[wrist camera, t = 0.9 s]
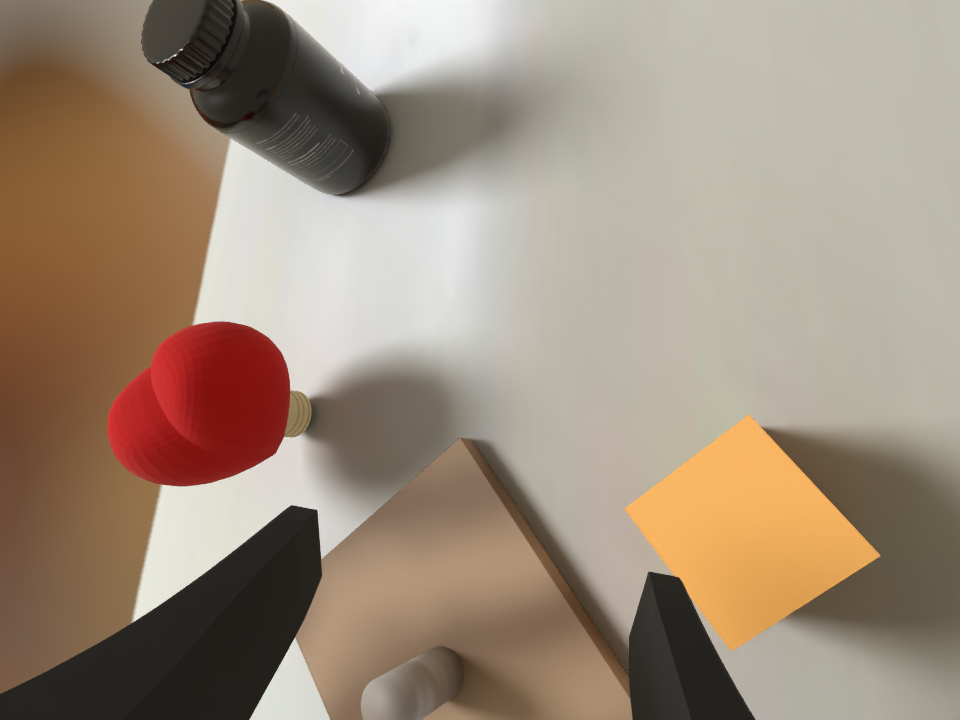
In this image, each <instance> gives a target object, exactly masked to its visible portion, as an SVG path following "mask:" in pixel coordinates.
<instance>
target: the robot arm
mask: <svg viewBox="0 0 960 720" xmlns="http://www.w3.org/2000/svg"><path fill="white" fill-rule="evenodd" d="M321 578H322V565H321V552H320V539H319V526H318V513H317V510H314V509H309V508H303V507H298V506H292V505H291V506H290V507H288V508H287V509H286V510H284V511H283V512H282V513H281V514H279V515H278V516H277V517H276V518H274V519H273V520H272V521H271V522H269V523H268V524H267V525H266V526H264V527H263V528H262V529H261V530H260V531H258V532H257V533H256V534H255V535H253V536H252V537H251V538H250V539H248V540H247V541H246V542H245V543H243V544H242V545H241V546H240V547H238V548H237V549H236V550H235V551H233V552H232V553H231V554H229V555H228V556H227V557H225V558H224V559H223V560H221V561H220V562H219V563H218V564H216V565H215V566H214V567H212V568H211V569H210V570H208V571H207V572H206V573H204V574H203V575H202V576H200V577H199V578H198V579H196V580H195V581H193V582H192V583H191V584H189V585H188V586H186V587H185V588H184V589H182V590H181V591H179V592H178V593H176V594H175V595H174V596H172V597H171V598H169V599H168V600H167V601H165V602H164V603H162V604H161V605H159V606H158V607H156V608H155V609H153V610H152V611H150V612H149V613H147V614H146V615H144V616H142V617H141V618H139V619H138V620H136V621H135V622H133V623H131V624H130V625H128V626H127V627H125V628H123V629H122V630H120V631H119V632H117V633H115V634H114V635H112V636H110V637H108V638H107V639H105V640H103V641H102V642H100V643H98V644H97V645H95V646H93V647H91V648H89V649H87V650H85V651H83V652H82V653H80V654H78V655H76V656H74V657H73V658H71V659H69V660H67V661H65V662H63V663H61V664H60V665H58V666H56V667H54V668H52V669H50V670H48V671H47V672H45V673H43V674H41V675H39V676H37V677H35V678H33V679H31V680H29V681H26V682H25V683H22V684H20V685H18V686H16V687H14V688H12V689H10V690H8V691H6V692H4V693H2V694H0V720H249V719H250V717H251V716H252V714H253V712H254V710H255V708H256V707H257V705H258V703H259V701H260V699H261V698H262V696H263V694H264V692H265V690H266V689H267V687H268V685H269V683H270V681H271V680H272V678H273V676H274V674H275V672H276V671H277V669H278V667H279V665H280V663H281V662H282V660H283V658H284V656H285V654H286V653H287V651H288V649H289V647H290V645H291V644H292V642H293V640H294V638H295V636H296V634H297V633H298V631H299V629H300V627H301V625H302V623H303V621H304V619H305V617H306V615H307V612H308V610H309V608H310V605H311V603H312V601H313V598H314V596H315V593H316V591H317V588H318V586H319V583H320V580H321ZM629 690H630V700H631V710H632V719H633V720H755V718H754V716H753V715H752V713H751V712H750V710H749V708H748V707H747V705H746V703H745V702H744V700H743V698H742V696H741V695H740V693H739V691H738V690H737V688H736V686H735V684H734V682H733V681H732V679H731V677H730V675H729V673H728V672H727V670H726V668H725V666H724V664H723V663H722V661H721V659H720V657H719V655H718V653H717V651H716V650H715V648H714V646H713V644H712V642H711V640H710V638H709V636H708V634H707V632H706V630H705V628H704V626H703V624H702V622H701V620H700V618H699V616H698V614H697V612H696V610H695V608H694V605H693V603H692V601H691V599H690V597H689V595H688V592H687V590H686V588H685V586H684V584H683V582H682V580H681V579H680V578H679V577H675V576H670V575H664V574H659V573H653V572H648V576H647V579H646V582H645V586H644V589H643V592H642V596H641V599H640V602H639V606H638V609H637V613H636V616H635V619H634V623H633V626H632V629H631V633H630V636H629Z"/></svg>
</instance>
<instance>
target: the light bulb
mask: <svg viewBox="0 0 960 720" xmlns="http://www.w3.org/2000/svg"><path fill="white" fill-rule="evenodd" d="M311 414H312V409H311V404H310V401H309V399H308V398H307V396H306V395H304V394H303V393H301V392H298V391H290V379H289V373H288V368H287V365H286V362H285V360H284V357H283V355H282V353H281V352H280V350H279V349H278V348H277V347H276V345H275V344H274V343H273V342H272V341H271V340H270V339H269V338H268V337H267V336H265V335H264V334H262V333H260V332H259V331H257V330H255V329H253V328H251V327H249V326H246V325H241V324H237V323H232V322H210V323H203V324H197V325H193V326H190V327H188V328H185V329H183V330H181V331H179V332H177V333H175V334H173V335H172V336H170V337H169V338H168V339H166V340H165V341H164V342H163V343H162V344H161V345H160V346H159V347H158V349H157V351H156V352H155V354H154V357H153V360H152V365H151V366H150V367H149V368H147V369H146V370H144V371H143V372H142V373H141V374H140V375H138V376H137V377H136V378H135V379H134V380H133V381H131V382H130V383H129V385H128V386H127V387H126V388H125V389H124V390H123V391H122V392H121V393H120V394H119V396H118V397H117V398H116V400H115V401H114V403H113V405H112V407H111V410H110V412H109V417H108V437H109V442H110V445H111V448H112V450H113V452H114V454H115V456H116V458H117V459H118V460H119V462H120V463H121V464H122V465H123V466H124V467H126V468H127V469H128V470H129V471H130V472H131V473H133V474H134V475H136V476H138V477H141V478H143V479H145V480H148V481H150V482H153V483H157V484H162V485H171V486H193V485H200V484H207V483H212V482H215V481H218V480H222V479H225V478H228V477H231V476H234V475H236V474H239V473H241V472H243V471H245V470H247V469H250V468H252V467H254V466H256V465H257V464H259V463H261V462H262V461H264V460H266V459H268V458H269V457H271V456H273V455H274V454H275V453H276V452H277V450H278V447H279V446H280V444H281V442H282V440H283V438H284V437H296V436H299V435H300V434H302V433H303V432H304V431H305V430H306V429H307V427H308V425H309V423H310V420H311Z"/></svg>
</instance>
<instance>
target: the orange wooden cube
mask: <svg viewBox="0 0 960 720" xmlns="http://www.w3.org/2000/svg"><path fill="white" fill-rule="evenodd" d="M625 511H626V512H627V513H628V515H629V516H630V517H631V519H632V520H633V521H634V523H635V524H636V525H637V527H638V528H639V529H640V531H641V532H642V533H643V535H644V536H645V537H646V539H647V540H648V541H649V543H650V544H651V545H652V547H653V548H654V549H655V551H656V552H657V553H658V555H659V556H660V557H661V559H662V560H663V561H664V563H665V564H666V565H667V567H668V568H669V569H670V571H671V572H672V573H673V575H674V576H675V577H679V578H680V579H681V580H682V582H683V584H684V586H685V588H686V590H687V592H688V594H689V596H690V597H691V598H692V600H693V601H694V602H695V604H696V605H697V606H698V608H699V609H700V610H701V612H702V613H703V614H704V616H705V617H706V618H707V620H708V621H709V622H710V624H711V625H712V626H713V628H714V629H715V630H716V632H717V633H718V634H719V636H720V637H721V638H722V640H723V641H724V642H725V644H726V645H727V646H728V648H729V649H730V650H731V651H733V650H734V649H736V648H737V647H739V646H741V645H742V644H744V643H745V642H747V641H748V640H750V639H752V638H753V637H755V636H756V635H758V634H759V633H761V632H763V631H764V630H766V629H767V628H769V627H770V626H772V625H773V624H775V623H777V622H778V621H780V620H781V619H783V618H784V617H786V616H788V615H789V614H791V613H792V612H794V611H795V610H797V609H798V608H800V607H802V606H803V605H805V604H806V603H808V602H809V601H811V600H813V599H814V598H816V597H817V596H819V595H820V594H822V593H823V592H825V591H827V590H828V589H830V588H831V587H833V586H834V585H836V584H838V583H839V582H841V581H842V580H844V579H845V578H847V577H849V576H850V575H852V574H853V573H855V572H856V571H858V570H859V569H861V568H863V567H864V566H866V565H867V564H869V563H870V562H872V561H874V560H875V559H877V558H878V557H880V556H881V555H880V554H879V553H878V552H877V551H876V550H875V549H874V548H873V547H872V546H871V545H870V544H869V543H868V542H867V540H866V539H865V538H864V537H863V536H862V535H861V534H860V533H859V532H858V531H857V530H856V529H855V528H854V526H853V525H852V524H851V523H850V522H849V521H848V520H847V519H846V518H845V517H844V516H843V515H842V514H841V513H840V511H839V510H838V509H837V508H836V507H835V506H834V505H833V504H832V503H831V502H830V501H829V500H828V499H827V498H826V496H825V495H824V494H823V493H822V492H821V491H820V490H819V489H818V488H817V487H816V486H815V485H814V484H813V483H812V481H811V480H810V479H809V478H808V477H807V476H806V475H805V474H804V473H803V472H802V471H801V470H800V469H799V468H798V466H797V465H796V464H795V463H794V462H793V461H792V460H791V459H790V458H789V457H788V456H787V455H786V454H785V452H784V451H783V450H782V449H781V448H780V447H779V446H778V445H777V444H776V443H775V442H774V441H773V440H772V439H771V437H770V436H769V435H768V434H767V433H766V432H765V431H764V430H763V429H762V428H761V427H760V426H759V425H758V424H757V422H756V421H755V420H754V419H753V418H752V417H751V416H750V415H748V416H747V417H745V418H744V419H743V420H741V421H740V422H739V423H737V424H736V425H735V426H733V427H732V428H731V429H729V430H728V431H727V432H725V433H724V434H723V435H721V436H720V437H719V438H717V439H716V440H715V441H714V442H712V443H711V444H710V445H708V446H707V447H706V448H704V449H703V450H702V451H700V452H699V453H698V454H696V455H695V456H694V457H692V458H691V459H690V460H688V461H687V462H686V463H684V464H683V465H682V466H680V467H679V468H678V469H677V470H675V471H674V472H673V473H671V474H670V475H669V476H667V477H666V478H665V479H663V480H662V481H661V482H659V483H658V484H657V485H655V486H654V487H653V488H651V489H650V490H649V491H647V492H646V493H645V494H643V495H642V496H641V497H640V498H638V499H637V500H636V501H634V502H633V503H632V504H630V505H629V506H628V507H626V508H625Z"/></svg>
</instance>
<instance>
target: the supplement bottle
mask: <svg viewBox="0 0 960 720" xmlns="http://www.w3.org/2000/svg"><path fill="white" fill-rule="evenodd" d="M141 35H142V40H141V44H142V50H143V51H144V56H145V57H146V58H147V60H148V61H149V62H150V63H151V64H152V65H154V66H155V67H157V68H158V69H160V70H161V71H163V72H164V73H166V74H167V75H169V76H170V77H171V79H172V80H173V81H175V82H176V83H178V84H179V85H181V86H182V87H184V88H187V89H189V90H190V95H191V98H192V101H193V104H194V106H195V108H196V110H197V111H198V113H199V114H200V115H201V117H202V118H203V119H204V120H205V121H206V122H207V123H208V124H209V125H211V126H212V127H214V128H215V129H217V130H218V131H220V132H221V133H223V134H225V135H226V136H228V137H230V138H231V139H233V140H234V141H236V142H238V143H239V144H241V145H243V146H244V147H246V148H248V149H249V150H251V151H253V152H254V153H256V154H258V155H259V156H261V157H263V158H264V159H266V160H267V161H269V162H271V163H272V164H274V165H276V166H277V167H279V168H281V169H282V170H284V171H286V172H287V173H289V174H291V175H292V176H294V177H296V178H297V179H299V180H300V181H302V182H304V183H305V184H307V185H309V186H311V187H312V188H314V189H316V190H318V191H320V192H322V193H326V194H343V193H346V192H349V191H351V190H354V189H355V188H357V187H359V186H360V185H362V184H363V183H364V182H365V181H366V180H367V179H368V178H369V177H370V176H371V175H372V174H373V173H374V172H375V170H376V169H377V168H378V166H379V164H380V163H381V161H382V159H383V157H384V154H385V152H386V149H387V145H388V141H389V132H390V128H389V119H388V115H387V112H386V110H385V108H384V106H383V104H382V103H381V101H380V100H379V99H378V98H377V97H376V96H375V95H374V94H373V93H372V92H371V91H370V90H369V89H368V88H367V87H366V86H365V85H364V84H363V83H362V82H360V81H359V80H358V79H357V78H356V77H355V76H354V75H353V74H352V73H351V72H350V71H349V70H348V69H346V68H345V67H344V66H343V65H342V64H341V63H340V62H339V61H338V60H337V59H336V58H335V57H333V56H332V55H331V54H330V53H329V52H328V51H327V50H326V49H325V48H324V47H323V46H322V45H320V44H319V43H318V42H317V41H316V40H315V39H314V38H313V37H312V36H311V35H310V34H309V33H308V32H306V31H305V30H304V29H303V28H302V27H301V26H300V25H299V24H298V23H297V22H296V21H295V20H293V19H292V18H291V17H290V16H289V15H288V14H287V13H286V12H284V11H283V10H282V9H281V8H279V7H278V6H276V5H275V4H273V3H270V2H267V1H264V0H243V1H241V0H153V2H152V4H151V5H150V7H149V10H148V13H147V14H146V17H145V22H144V24H143V31H142V34H141Z"/></svg>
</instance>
